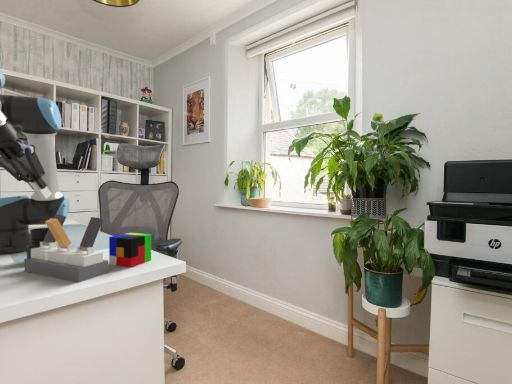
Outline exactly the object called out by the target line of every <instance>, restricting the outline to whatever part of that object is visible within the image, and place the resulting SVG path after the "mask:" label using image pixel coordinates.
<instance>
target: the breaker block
mask: <svg viewBox="0 0 512 384" xmlns="http://www.w3.org/2000/svg"><path fill="white" fill-rule="evenodd" d="M53 219H58V221H59V222H60V224H61V226H62V227H63V226H64V223H65V222H66V221H65V219H66V217H65V216H63V215H55V216H54V218H53ZM89 219H90V220H89V222H88V224H87V227H86V230H85V231H84V234H83V236H82V239H81V241H80V244H79V245H78V246H75V243H74V244H71V245H68V246H67V249H65V248H61V247H60V246H59V245H58V244H57V246H56V243H57V242H56V240H55V238H54V236H53V235H52V233H51V231H50V230H49V229H48V231H47V233H46V236H45V238H44V240H43V242H40V247H38V248H33V249H31V258H27V257H26V258H24V259H23V261H24V264H23V265H24V269H23V270H24V272H28V273H33V274H37V275H41V276H47V277H51V278H55V279H62V280H67V281H71V282H76V283H80V282H84V281H86V280H91V279H93V278H96V277H99V276H102V275H105V274H107V273H109V260H108V259H104V252H103V251H96V250H95V247H94V245H95V242H96V239H97V238H98V234H99V232H100V229H101V227H102V223H103V221H104V219H103V218H100V217H94V216H93V217H92V216H91V217H90V218H89ZM66 220H67V219H66ZM64 221H65V222H64Z"/></svg>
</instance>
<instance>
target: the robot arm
mask: <svg viewBox="0 0 512 384" xmlns="http://www.w3.org/2000/svg"><path fill="white" fill-rule="evenodd" d="M5 84H6V77H5V74H4V73H3V71H2V70H1V69H0V90H1V89H2V88H3V87H4V86H5ZM14 127H15V128H16V127H17V128H18V127H19V128H20V132H21V134H23V136H25V137H26V138H27V144H25V143H24V142H23V141H22V140H21V139H20V138H19V137H18V132H17V130H16V129H15V128H14ZM60 129H62V116H61V112H60V110H59V106H58V105H57V104H56V103H55V101H54V100H52V99H50V98H49V99H48V98H42V97H35V96H34V97H33V96H32V97H31V96H21V95H20V96H19V95H11V94H0V167H2V168H3V169H4V170H5V171H6V172H7V173H8V174H10V175H11V176H12V177H13V178H14V179H15V180H17V181H18V182H21V181H24V183H27V184H28V185H29V186H30V188H31V189H32V190H33V193H32V194H31V195H30V197H29V196H28V194H26V195H25V194H24V195H16V196H6V197H0V255H4V254H16V253H21V252H27V251H26V247H27V245H28V244H29V243H30V242H31V240H30V239H31V238H30V230H29V228H30V227H29V226H42V225H43V226H44V225H46V223H45V222H46V221H47V220H49V219H51V218H52V219H53V218H54V216H55V215H63V216H65V217H66V219H65V221H64V223H65V222H66V220H67V219H68V217H69V216H68V215H69V210H70V199H69V198H68V197H65V196H64V195H65V194H64V192H63V191H60V188H59V187H60V186H59V178H58V177H59V176H58V168H57V162H56V161H57V159H56V150H55V143H54V142H55V141H54V137H55V136H56V135H57V134H58V131H59V130H60ZM46 226H47V225H46Z"/></svg>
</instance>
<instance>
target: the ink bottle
mask: <svg viewBox="0 0 512 384" xmlns="http://www.w3.org/2000/svg"><path fill="white" fill-rule="evenodd" d="M48 229H49V228H48V227H42V228H41V227H40V228H32V229H30V230H29V233H30V238H31V239H30V240H31V242H30V243H29V244H28V245H27V247H26V251H25V252H26V259H27V258H31V249H33V248H38V247H40V242H43V240H44V238H45V236H46V233H47V231H48ZM56 246H58V243H57V242H56Z"/></svg>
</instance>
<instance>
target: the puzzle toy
mask: <svg viewBox="0 0 512 384" xmlns="http://www.w3.org/2000/svg"><path fill="white" fill-rule="evenodd" d="M108 237H109V238H108V242H109V243H108V244H109V245H108V247H109V249H108V252H109V253H108V254H109V255H108V257H109V258H108V259H109V260H108V266H109V265H110V266H118V267H125V268H134V267H137V266H140V265H143V264H146V263H148V262H151V261H152V234H150V233H139V232H127V233H126V232H125V233H122V234H118V235H113V236H108Z"/></svg>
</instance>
